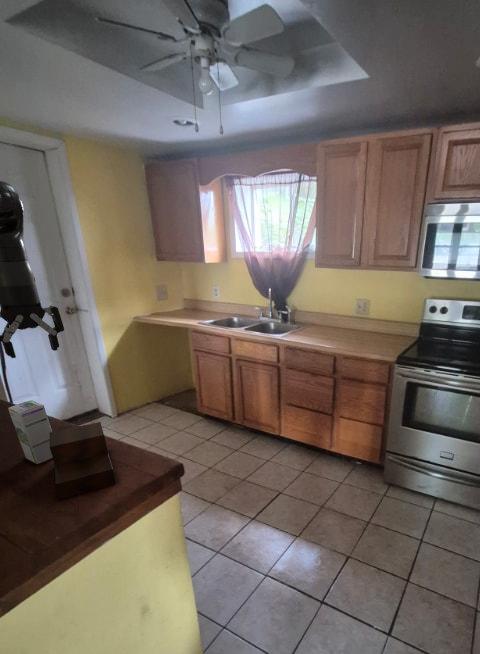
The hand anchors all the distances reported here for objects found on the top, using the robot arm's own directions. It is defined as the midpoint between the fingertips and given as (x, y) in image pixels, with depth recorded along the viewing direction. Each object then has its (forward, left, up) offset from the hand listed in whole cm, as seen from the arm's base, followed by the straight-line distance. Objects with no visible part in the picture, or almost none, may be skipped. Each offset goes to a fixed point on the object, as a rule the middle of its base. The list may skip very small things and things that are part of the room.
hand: (34, 353), depth 88 cm
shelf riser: (+5, -16, -26) cm, 31 cm away
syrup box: (-4, -2, -27) cm, 27 cm away
